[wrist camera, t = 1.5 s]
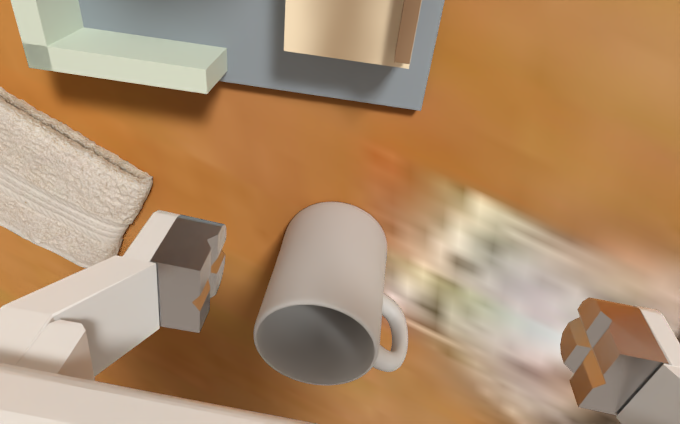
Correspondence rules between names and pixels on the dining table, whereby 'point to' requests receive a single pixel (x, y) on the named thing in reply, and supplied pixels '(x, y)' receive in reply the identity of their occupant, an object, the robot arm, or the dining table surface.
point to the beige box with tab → (353, 29)
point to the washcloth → (64, 186)
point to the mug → (330, 299)
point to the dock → (210, 48)
